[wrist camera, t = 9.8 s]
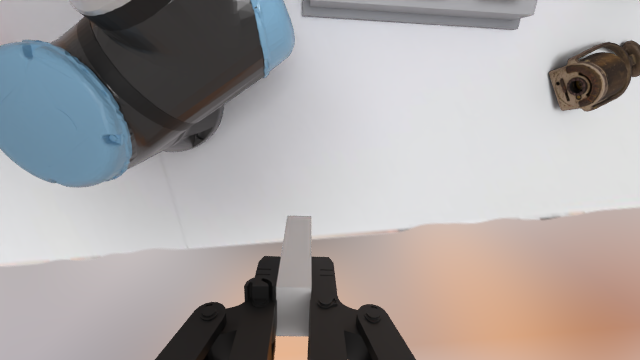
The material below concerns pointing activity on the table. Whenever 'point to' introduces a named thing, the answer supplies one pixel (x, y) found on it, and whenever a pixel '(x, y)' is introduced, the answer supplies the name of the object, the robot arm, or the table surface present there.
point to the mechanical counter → (596, 76)
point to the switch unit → (427, 11)
